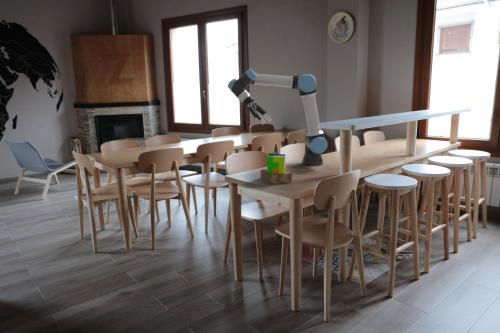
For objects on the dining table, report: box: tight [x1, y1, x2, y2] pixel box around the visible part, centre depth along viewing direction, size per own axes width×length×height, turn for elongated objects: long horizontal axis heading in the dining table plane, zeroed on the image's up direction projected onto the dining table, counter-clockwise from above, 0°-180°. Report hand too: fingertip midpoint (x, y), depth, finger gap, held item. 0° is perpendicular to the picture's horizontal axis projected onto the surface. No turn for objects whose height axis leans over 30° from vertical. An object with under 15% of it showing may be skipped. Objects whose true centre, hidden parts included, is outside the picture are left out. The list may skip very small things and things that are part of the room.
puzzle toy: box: [266, 153, 286, 174], centre depth 237 cm, size 10×10×10 cm
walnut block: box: [260, 168, 293, 185], centre depth 240 cm, size 15×15×6 cm
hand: (267, 122), depth 260 cm, fingers open, 13 cm apart
